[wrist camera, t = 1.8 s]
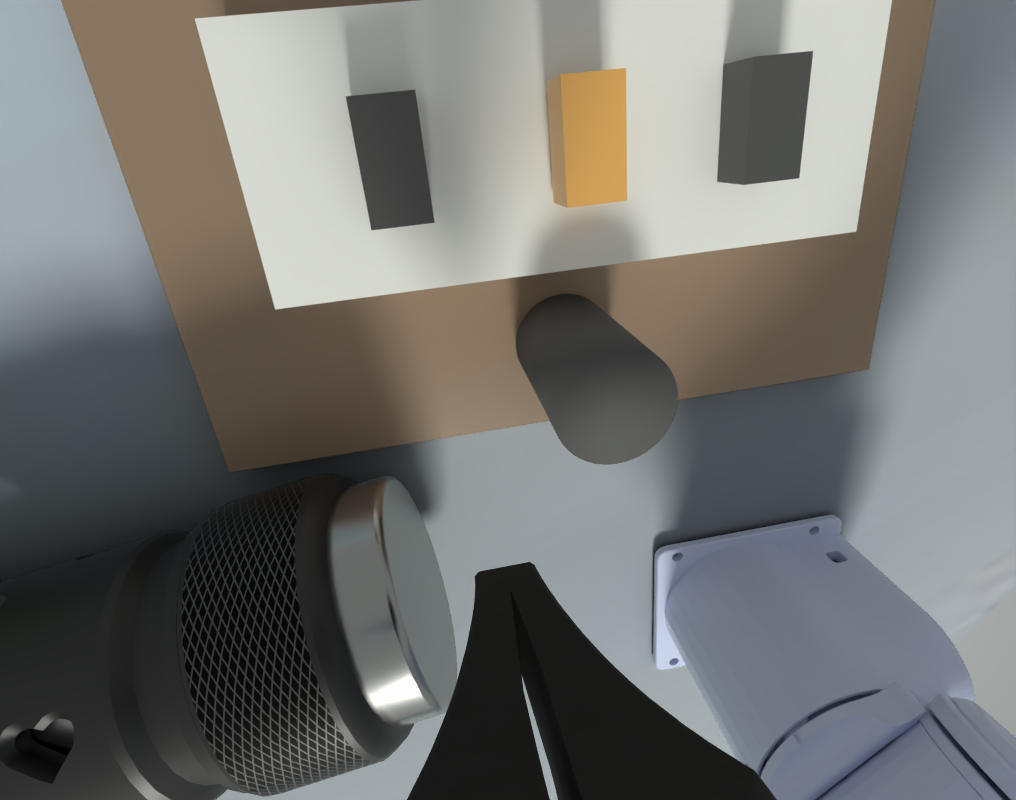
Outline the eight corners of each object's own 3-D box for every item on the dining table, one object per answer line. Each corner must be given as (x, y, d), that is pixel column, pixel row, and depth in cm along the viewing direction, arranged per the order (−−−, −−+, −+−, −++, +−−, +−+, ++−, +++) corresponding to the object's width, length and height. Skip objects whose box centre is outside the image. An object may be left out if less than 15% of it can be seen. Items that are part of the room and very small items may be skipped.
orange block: (606, 75, 15) (625, 67, 13) (608, 196, 16) (627, 200, 15) (545, 80, 15) (560, 74, 13) (554, 203, 16) (567, 208, 15)
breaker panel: (959, -284, 16) (1198, -471, 11) (851, 361, 25) (962, 414, 20) (-10, -253, 14) (-246, -478, 9) (236, 459, 22) (186, 549, 17)
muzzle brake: (-122, 733, 27) (-408, 641, 20) (449, 554, 27) (368, 400, 20) (-288, 1029, 20) (-825, 1049, 13) (485, 781, 20) (380, 667, 13)
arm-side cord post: (608, 287, 21) (679, 337, 15) (610, 378, 22) (676, 453, 17) (511, 300, 20) (548, 357, 15) (520, 392, 22) (557, 473, 16)
